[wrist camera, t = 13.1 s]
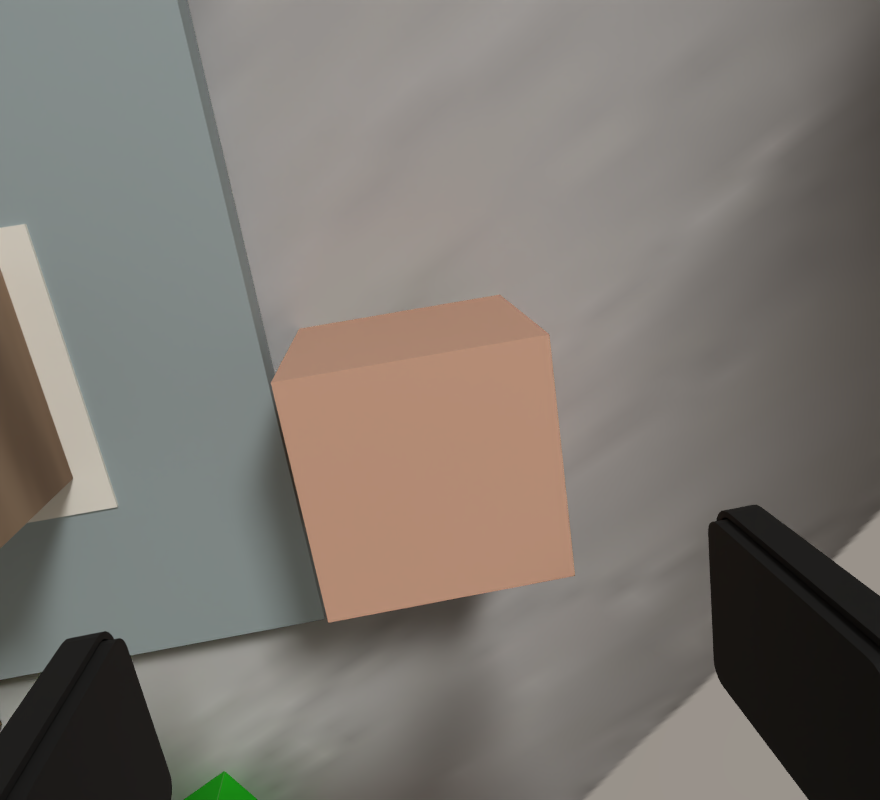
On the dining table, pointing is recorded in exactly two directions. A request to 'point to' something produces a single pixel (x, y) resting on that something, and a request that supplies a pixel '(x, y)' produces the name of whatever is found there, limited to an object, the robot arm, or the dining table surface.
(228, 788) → the puzzle toy
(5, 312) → the walnut block
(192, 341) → the board
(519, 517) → the terracotta block
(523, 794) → the dining table surface
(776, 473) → the dining table surface
